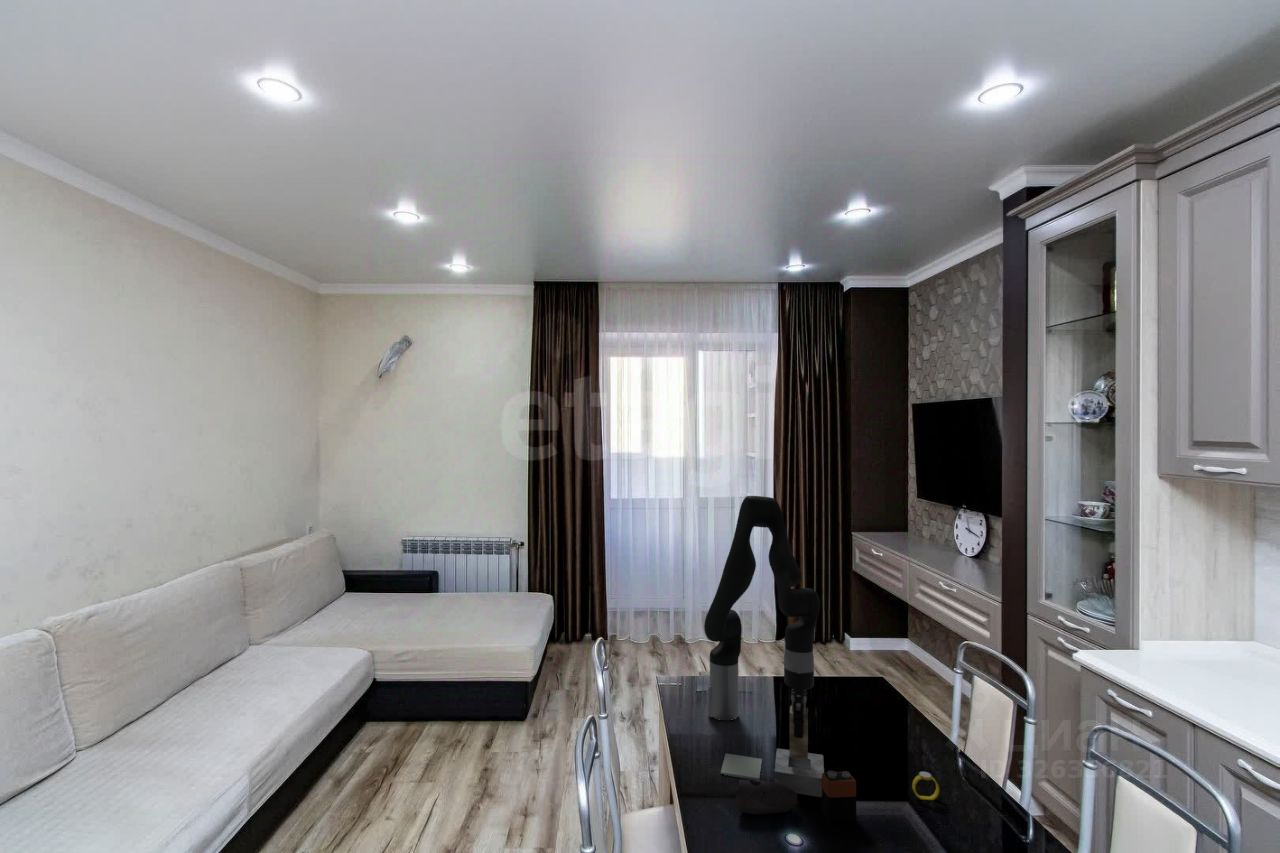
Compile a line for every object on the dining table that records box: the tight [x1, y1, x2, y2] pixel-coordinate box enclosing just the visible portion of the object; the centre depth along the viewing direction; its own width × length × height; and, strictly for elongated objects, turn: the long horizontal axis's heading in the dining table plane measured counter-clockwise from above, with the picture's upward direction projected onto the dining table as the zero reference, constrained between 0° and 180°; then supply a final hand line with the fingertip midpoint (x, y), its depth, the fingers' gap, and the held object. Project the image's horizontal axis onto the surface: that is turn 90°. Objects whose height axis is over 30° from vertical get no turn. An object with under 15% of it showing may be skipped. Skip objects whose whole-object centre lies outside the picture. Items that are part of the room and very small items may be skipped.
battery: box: [821, 770, 857, 823], centre depth 137 cm, size 4×7×10 cm, turn 95°
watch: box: [911, 771, 940, 801], centre depth 144 cm, size 6×3×6 cm, turn 84°
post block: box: [773, 748, 825, 798], centre depth 151 cm, size 12×12×4 cm
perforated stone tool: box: [735, 779, 799, 816], centre depth 138 cm, size 15×5×7 cm, turn 90°
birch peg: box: [789, 705, 809, 759], centre depth 152 cm, size 4×4×11 cm
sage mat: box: [720, 753, 763, 780], centre depth 157 cm, size 10×10×1 cm
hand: (798, 732), depth 152 cm, fingers closed on birch peg, 4 cm apart
